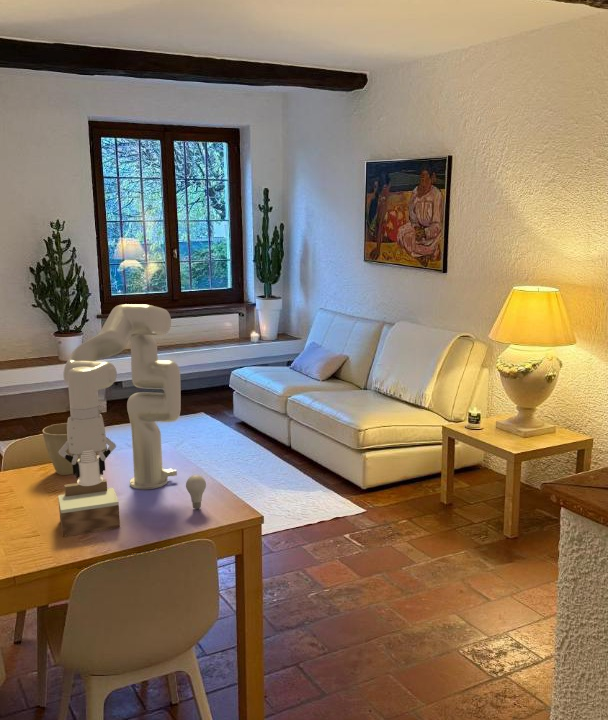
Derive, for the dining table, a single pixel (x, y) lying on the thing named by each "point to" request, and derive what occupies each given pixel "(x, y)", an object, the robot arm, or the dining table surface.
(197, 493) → the lightbulb
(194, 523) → the dining table surface
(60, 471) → the plant pot
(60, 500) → the toolbox lid
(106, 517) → the toolbox
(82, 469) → the downlight
